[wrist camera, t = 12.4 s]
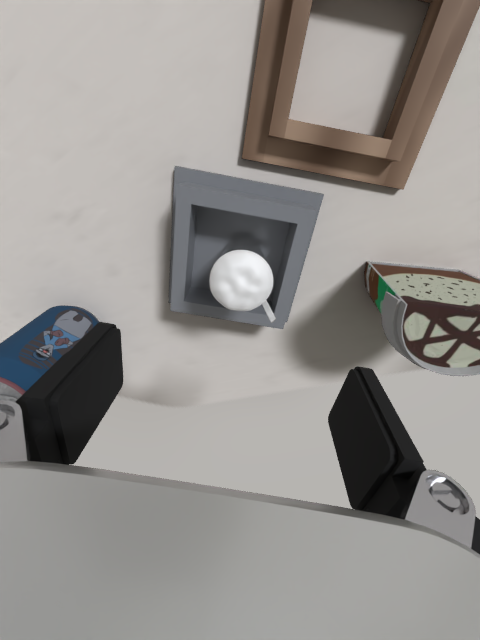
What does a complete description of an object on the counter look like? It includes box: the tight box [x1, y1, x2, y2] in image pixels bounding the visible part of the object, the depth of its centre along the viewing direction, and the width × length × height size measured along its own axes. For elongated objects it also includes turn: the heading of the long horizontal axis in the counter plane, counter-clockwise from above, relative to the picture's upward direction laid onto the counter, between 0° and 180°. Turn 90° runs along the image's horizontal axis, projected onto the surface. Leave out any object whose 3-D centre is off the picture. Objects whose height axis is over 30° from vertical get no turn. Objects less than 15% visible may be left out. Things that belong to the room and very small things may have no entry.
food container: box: [364, 261, 480, 376], centre depth 25 cm, size 12×6×10 cm, turn 85°
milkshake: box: [209, 235, 276, 323], centre depth 22 cm, size 4×5×10 cm
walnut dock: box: [242, 0, 480, 189], centre depth 20 cm, size 14×14×2 cm
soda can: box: [0, 306, 99, 402], centre depth 27 cm, size 7×7×12 cm
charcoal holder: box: [169, 166, 324, 329], centre depth 26 cm, size 13×13×4 cm
